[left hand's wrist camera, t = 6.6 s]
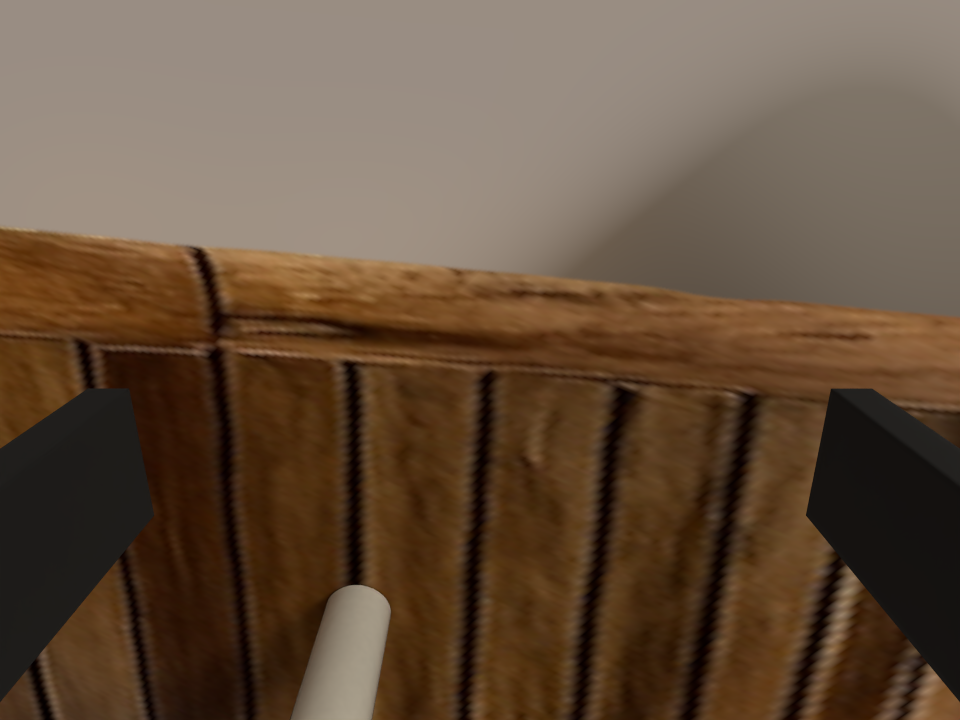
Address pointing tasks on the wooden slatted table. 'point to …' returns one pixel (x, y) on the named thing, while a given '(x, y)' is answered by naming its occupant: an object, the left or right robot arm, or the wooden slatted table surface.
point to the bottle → (345, 657)
